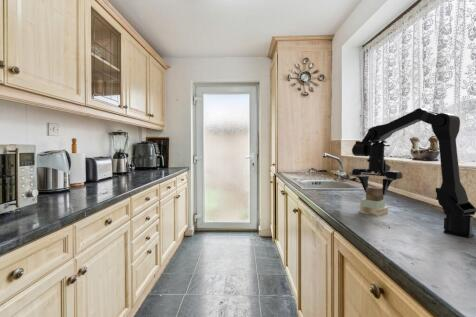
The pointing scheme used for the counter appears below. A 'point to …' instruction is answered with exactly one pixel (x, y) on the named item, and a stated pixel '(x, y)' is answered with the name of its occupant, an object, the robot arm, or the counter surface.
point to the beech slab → (374, 211)
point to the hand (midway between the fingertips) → (375, 193)
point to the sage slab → (372, 203)
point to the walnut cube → (374, 193)
